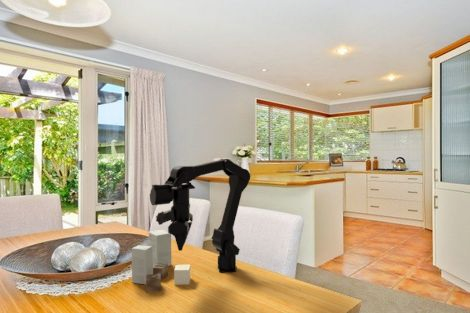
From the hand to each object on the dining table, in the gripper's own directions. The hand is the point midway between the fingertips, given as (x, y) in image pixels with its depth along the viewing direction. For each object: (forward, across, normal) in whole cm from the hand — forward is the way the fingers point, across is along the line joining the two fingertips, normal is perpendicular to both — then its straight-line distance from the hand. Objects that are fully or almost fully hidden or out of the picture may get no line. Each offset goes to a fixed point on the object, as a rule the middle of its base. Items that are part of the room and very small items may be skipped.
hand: (181, 246), depth 105 cm
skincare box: (+12, 0, -14) cm, 18 cm away
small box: (+12, -16, -11) cm, 23 cm away
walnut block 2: (+12, +5, -9) cm, 16 cm away
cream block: (+12, 0, 0) cm, 12 cm away
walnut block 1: (+12, -5, -9) cm, 16 cm away
